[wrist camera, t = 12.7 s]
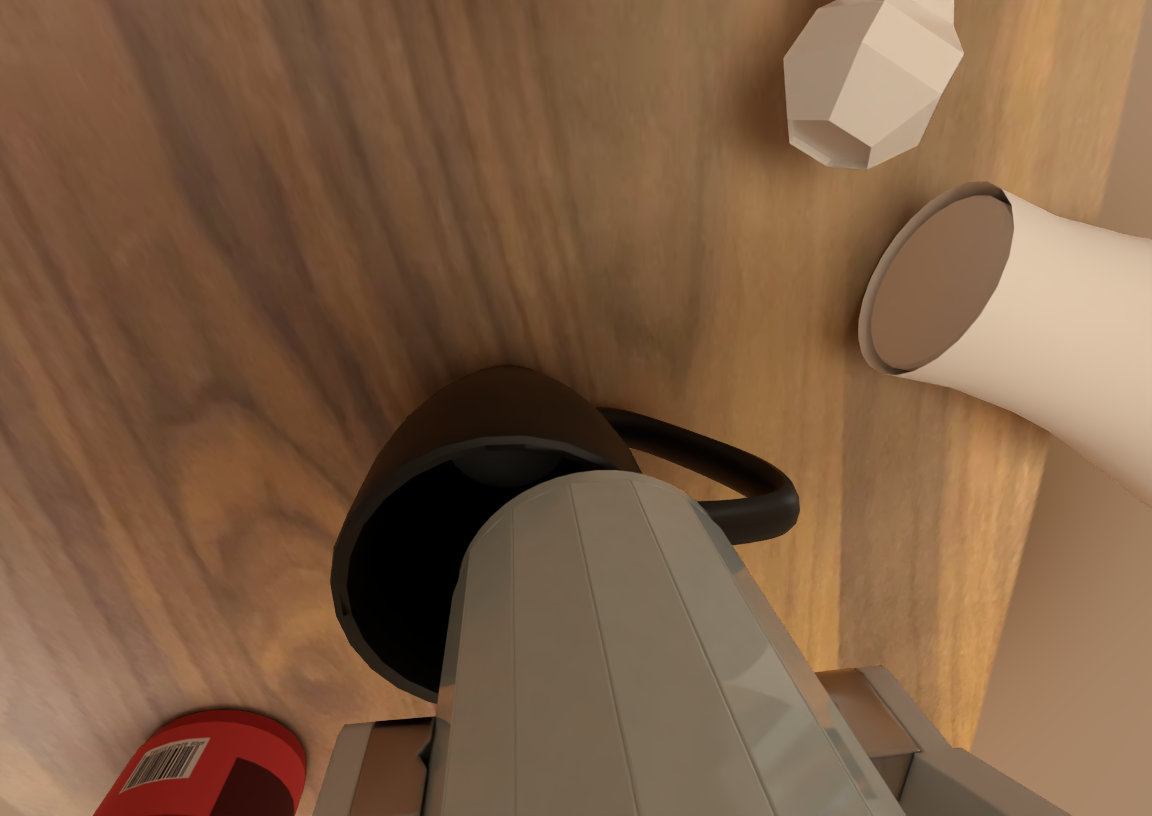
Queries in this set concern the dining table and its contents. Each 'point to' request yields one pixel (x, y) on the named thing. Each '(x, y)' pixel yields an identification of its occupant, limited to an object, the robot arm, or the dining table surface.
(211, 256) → the dining table surface
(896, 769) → the robot arm
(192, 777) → the canned food
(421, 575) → the mug
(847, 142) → the dagger
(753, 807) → the tumbler
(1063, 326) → the cup
